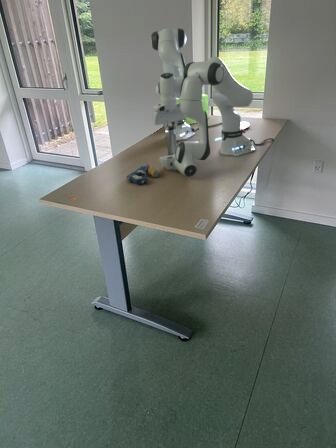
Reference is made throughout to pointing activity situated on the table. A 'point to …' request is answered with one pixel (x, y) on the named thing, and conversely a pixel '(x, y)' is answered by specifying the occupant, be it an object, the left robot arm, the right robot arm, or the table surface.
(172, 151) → the bottle
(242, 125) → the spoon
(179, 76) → the left robot arm
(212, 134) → the table surface
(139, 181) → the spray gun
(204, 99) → the light green block
